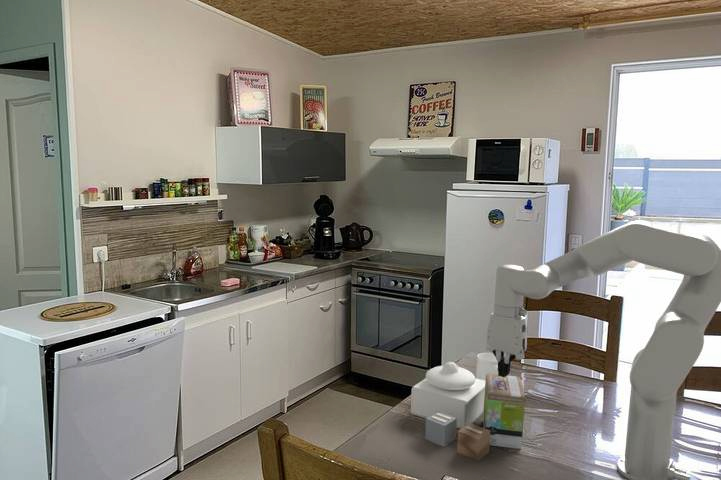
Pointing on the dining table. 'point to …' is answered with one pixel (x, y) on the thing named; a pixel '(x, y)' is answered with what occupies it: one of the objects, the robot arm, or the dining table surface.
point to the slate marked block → (441, 428)
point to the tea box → (504, 410)
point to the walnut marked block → (473, 441)
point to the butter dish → (449, 394)
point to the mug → (486, 365)
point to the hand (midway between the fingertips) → (503, 375)
